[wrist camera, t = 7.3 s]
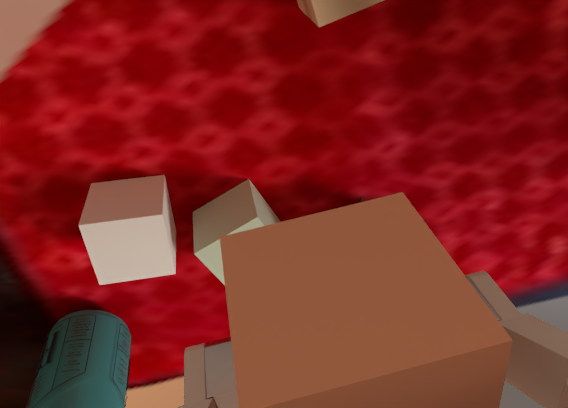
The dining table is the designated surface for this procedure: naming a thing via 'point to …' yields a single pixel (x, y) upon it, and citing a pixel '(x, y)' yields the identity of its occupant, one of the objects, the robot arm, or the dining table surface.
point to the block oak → (332, 9)
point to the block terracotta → (358, 315)
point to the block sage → (228, 222)
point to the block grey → (129, 229)
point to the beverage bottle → (84, 363)
